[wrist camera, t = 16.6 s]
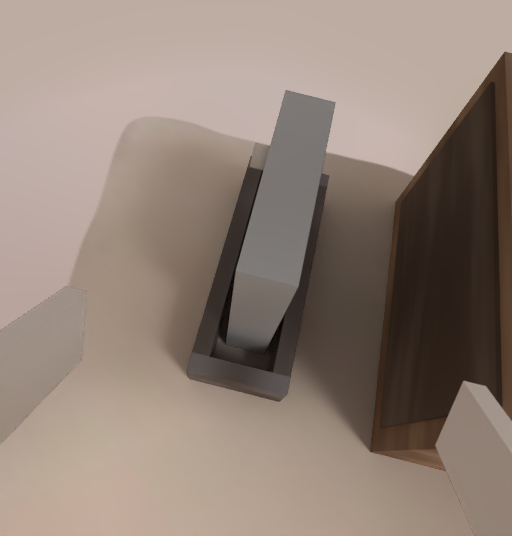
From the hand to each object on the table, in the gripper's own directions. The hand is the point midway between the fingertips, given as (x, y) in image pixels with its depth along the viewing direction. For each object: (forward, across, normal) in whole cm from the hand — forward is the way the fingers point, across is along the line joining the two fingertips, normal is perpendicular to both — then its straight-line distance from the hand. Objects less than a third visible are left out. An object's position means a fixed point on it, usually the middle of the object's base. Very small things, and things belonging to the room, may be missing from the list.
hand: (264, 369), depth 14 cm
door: (+20, -1, -4) cm, 20 cm away
